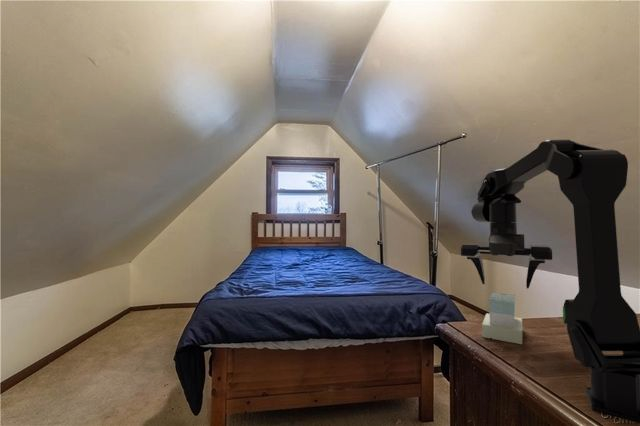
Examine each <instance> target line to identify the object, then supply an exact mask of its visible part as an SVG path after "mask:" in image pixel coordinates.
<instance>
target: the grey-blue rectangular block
mask: <svg viewBox="0 0 640 426" xmlns="http://www.w3.org/2000/svg"><path fill="white" fill-rule="evenodd" d="M515 296H516V295H515V294H510V293H501V292H500V293H499V292H491V295H490V296H489V299H488V302H489V303H488V305H489V306H488V307H489V309H488V310H489V314H490V325H496V326H502V327H508V328H515V317H516V300H515V299H516V297H515Z"/></svg>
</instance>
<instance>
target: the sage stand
mask: <svg viewBox="0 0 640 426" xmlns="http://www.w3.org/2000/svg"><path fill="white" fill-rule="evenodd" d="M481 328H482V329H481V337H482V338H485V339H490V338H492V339H491V340H497V341H500V342H501V341H502V342H507V343H513V344H519V345H523V317H516V316H515V328H508V327H502V326H496V325H490V313H485V315H484V318H483V321H482V323H481Z"/></svg>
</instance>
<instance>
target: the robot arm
mask: <svg viewBox="0 0 640 426" xmlns="http://www.w3.org/2000/svg"><path fill="white" fill-rule="evenodd" d="M628 167H629V162H628V157H626V155H625V154H623V153H621V152H620V151H619V150H616V149H602V148H599V147H595V146H591V145H590V146H589V145H585V144H582V143H579V142H576V141H574V140H571V139H547V140H544V141H542V142H540V143H539V144H538V145H537V147H535V149H533V150H532V151H530V152H528V153H527V154H526V155H524V156H523V157H521V158H520V159H518V160H517V161H516V162H514V163H512V164H511V165H510V166H508V167H505V168H500V169H495V170H493V171H491V172H490V171H489V172H488V173H487V174H486V175H485V177H484V179H483V180H482V184H481V186H480V189H479V190H478V193H477V203H475V204H474V205H473V206H472V209H471V212H470V213H471V217H472V218H473V220H475V221H476V222H479V223H489V238H488V246H481V243H472V242H471V243H469V242H467V243H463V245H462V246H461V247H460V255H461V256H462V257H465V256H466V259H467V260H470V261H471V262H472V264H473V265H474V266H475V268H476V270H477V273H478V275H479V278H480V279H479V280H480V282H481V283H482V285H485V284H486V282H485V281H486V276H485V269H484V263H483V261H484V260H483V256H482V255H481V254H483V255H486V254H487V255H492V256H507V257H513V256H529V258H528V265H527V270H526V271H527V273H526V280H525V281H526V282H525V283H526V284H525V285H526V289H529V288H530V286H531V283H532V279H533V277H534V274H535V272H536V271H537V268H538V267H539V265H540V264H545V263H546V261H547V260H549V261H553V249H552V248H551V247H550V246H549V245H543V244H542V245H539V244H538V245H535V244H532V245H531V244H530V247H525V234H523V233H521V234H520V233H519V234H518V226H517V225H518V222H517V204H521V203H522V200H521V199H520V198H519V197H518V196H516V195H517V194H519V193H520V192H521V191H522V190H523V189H524V188H525V183H527V182H529V181H530V180H532V179H534V178H536V177H537V176H539V175H541V174H543V173H545V172H546V171H549V172H550V173H552V174H554V175H555V176H557V178H558V184H559V188H560V189H559V190H560V191H561V192H562V193H563V195H564V196H565V197H566V198H567V200H568V201H569V202H570V203H571V204H572V207H573V208H572V209H573V220H574V221H573V222H574V234H575V250H576V253H575V254H576V262H577V263H576V264H577V267H576V268H577V277H578V279H577V280H578V293H576V295H575V296H574V298H573V299H564V303H563V306H564V309H565V321H564V322H563V323H564V325H566V330H567V334H568V337H569V338H568V339H569V341H570V345H571V348H572V352H573V355H574V356H573V357H574V358H575V359H576V360H577V361H579V362H580V365H581V366H583V367H585V368H589V369H590V386H585V387H584V390H585V393H586V397H587V400H588V402H589V405H590V407H591V409H592V410H594V411H597V412H600V413H605V414H608V415H614V416H617V417H620V418H625V419H629V420H632V421H636V422H640V324H639V320H638V317H637V313H636V312H635V310H634V309H633V308H632V307H631V306H630V305H629V303H628V302H627V300H626V299H625V298H624V297H623V295H622V289H621V288H622V287H621V275H620V274H621V273H620V262H619V249H618V236H617V235H618V234H617V222H616V221H617V220H616V209H615V208H616V207H615V204H616V201H617V200H618V199H619V197H620V196H621V194H622V193H623V191H624V189H625V188H626V186H627V183H628V182H627V181H628V171H629V170H628ZM603 352H622V353H607V354H606V353H603Z"/></svg>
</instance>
